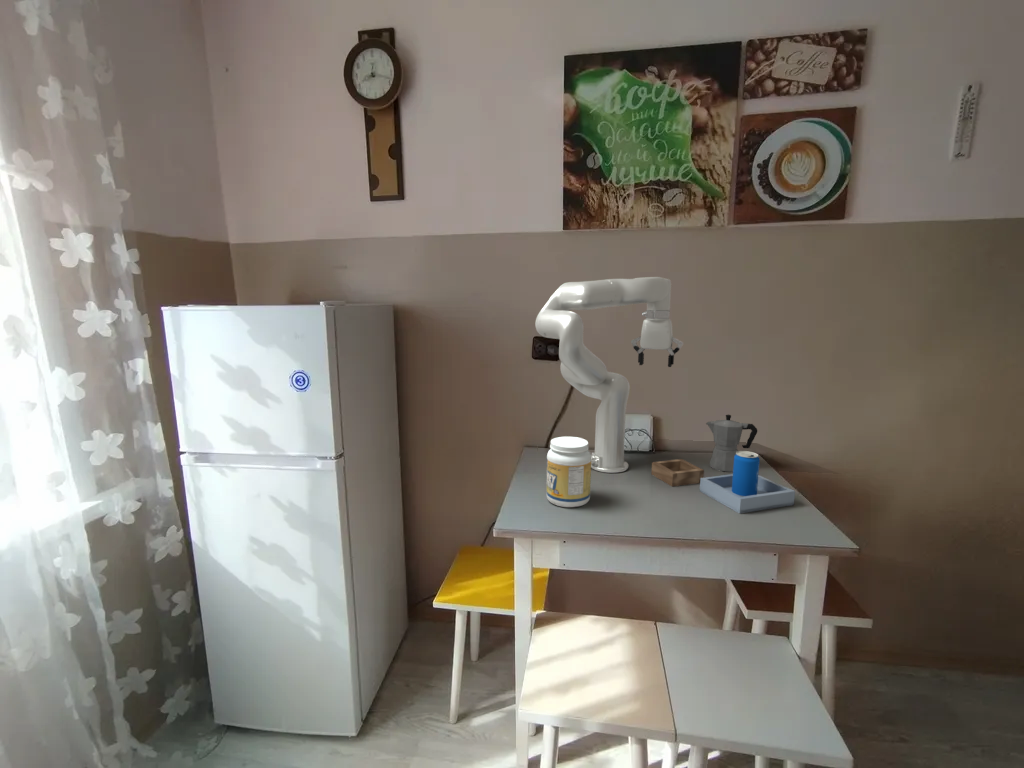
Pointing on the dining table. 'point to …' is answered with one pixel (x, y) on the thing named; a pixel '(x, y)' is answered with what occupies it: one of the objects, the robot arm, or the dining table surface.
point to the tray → (766, 496)
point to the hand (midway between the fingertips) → (655, 365)
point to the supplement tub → (568, 472)
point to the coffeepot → (728, 442)
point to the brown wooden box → (677, 472)
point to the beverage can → (745, 473)
